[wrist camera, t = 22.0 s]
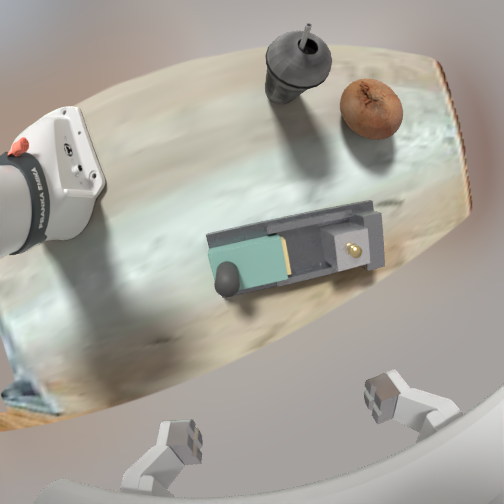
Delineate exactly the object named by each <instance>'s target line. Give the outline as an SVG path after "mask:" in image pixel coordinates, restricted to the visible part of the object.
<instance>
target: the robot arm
mask: <svg viewBox="0 0 504 504" xmlns="http://www.w3.org/2000/svg"><path fill="white" fill-rule="evenodd" d="M65 112H66V114H65ZM94 174H96V178H94ZM104 186H105V178H104V175H103V172H102V170H101V167H100V165H99V162H98V159H97V157H96V154H95V151H94V149H93V146H92V143H91V140H90V137H89V134H88V131H87V128H86V125H85V122H84V119H83V116H82V113H81V110H80V108H77V107H71V106H70V107H62V108H59V109H56V110H54V111H52V112H50V113H48V114H46V115H45V116H43V117H42V118H40V119H39V120H38V121H36V122H35V123H34V124H33V125H31V126H29V127H28V128H27V129H25V130H24V131H23V132H22V133H21V134H20V135H19V136H18V137H17V138H16V139H15V141H14V142H13V144H12V147H11V150H10V152H5V153H4V154H2V155H1V156H0V259H1V258H3V257H5V256H7V255H16V254H21V253H23V252H26V251H28V250H30V249H32V248H34V247H36V246H38V245H40V244H41V243H42V242H44V241H47V240H68V239H71V238H74V237H75V236H77V235H78V234H79V233H81V232H82V231H83V229H84V228H85V227H86V225H87V223H88V222H89V220H90V217H91V214H92V211H93V207H94V203H95V200H96V198H97V197H98V195H99V194H100V193H101V191H102V190H103V188H104ZM365 387H366V391H365V392H364V398H365V403H366V405H367V407H368V409H370V410H372V411H373V412H372V416H373V418H374V419H375V421H376V423H377V424H380V423H382V422H385V421H387V420H390V419H392V418H393V419H394V420H396V421H398V422H400V423H402V424H404V425H406V426H407V427H410V428H411V429H413V430H416V431H417V432H419V433H420V434H419V436H418V439H417V441H416V443H415V444H414V445H412V446H410V447H408V448H406V449H404V450H402V451H400V452H398V453H395V454H394V455H391V456H389V457H387V458H384V459H382V460H379V461H377V462H375V463H372V464H370V465H367V466H364V467H362V468H359V469H356V470H354V471H351V472H348V473H345V474H342V475H339V476H335V477H332V478H329V479H326V480H322V481H318V482H314V483H310V484H306V485H302V486H298V487H293V488H288V489H283V490H278V491H272V492H265V493H258V494H250V495H241V496H229V497H211V498H179V497H175V496H174V495H173V494H171V493H170V492H169V491H168V490H167V489H168V487H169V486H170V485H171V483H172V482H173V481H174V479H175V478H176V477H177V475H178V474H179V473H180V471H181V470H182V469H183V467H184V466H185V465H190V464H201V460H202V459H201V458H202V453H201V451H200V450H199V449H200V448H201V447H202V436H201V433H200V431H199V429H197V428H195V422H194V421H193V420H173V421H162V422H161V424H160V428H159V432H158V437H157V442H156V446H152V448H150V449H149V450H148V451H147V452H146V453H145V454H144V455H143V456H142V457H141V458H140V459H139V460H138V461H137V462H135V463H134V464H133V465H132V466H131V467H130V468H129V469H128V470H127V471H126V472H124V476H123V480H122V484H121V488H120V492H119V491H114V490H108V489H103V488H99V487H94V486H90V485H86V484H82V483H78V482H75V481H72V480H68V479H64V478H63V479H58V480H56V481H55V482H53V483H52V484H50V485H48V486H47V487H45V488H43V489H42V490H41V491H40V493H39V494H38V496H37V498H36V499H35V502H34V504H504V383H503V384H502V385H501V386H500V387H499V388H498V389H496V390H495V391H494V392H493V393H492V394H490V395H489V396H488V397H487V398H485V399H484V400H483V401H481V402H480V403H479V404H478V405H476V406H475V407H474V408H472V409H471V410H469V411H468V412H467V413H465V414H463V413H462V412H461V411H460V410H459V409H458V407H457V406H456V405H455V404H454V403H453V401H452V400H450V399H447V398H443V397H440V396H437V395H434V394H431V393H427V392H424V391H421V390H418V389H415V388H412V389H410V387H409V386H408V385H407V384H406V383H405V381H404V380H403V379H402V377H401V376H400V375H399V374H398V372H397V371H396V370H394V369H393V370H391V371H388V372H386V373H383V374H381V375H379V376H376V377H374V378H371V379H368V380H366V382H365Z"/></svg>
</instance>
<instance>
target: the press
mask: <svg viewBox="0 0 504 504" xmlns="http://www.w3.org/2000/svg"><path fill="white" fill-rule="evenodd" d="M347 221H351V222H353V223H356V224H358V225H361V226H363V227H366V228H368V238H369V251H370V263H369V264H365V265H361V266H362V267H363V268H364V269H366V270H367V271H370V270H373V269H377V268H380V267H384V266H385V259H384V241H383V227H382V216H381V213H380V212H376V211H374V210H373V202H372V201H371V200H368V201H362V202H357V203H351V204H346V205H341V206H336V207H330V208H325V209H320V210H315V211H310V212H305V213H300V214H295V215H291V216H286V217H281V218H276V219H271V220H267V221H262V222H257V223H253V224H248V225H244V226H239V227H235V228H230V229H226V230H221V231H217V232H212V233H208V234H206V237H207V241H208V245H209V249H210V248H214V247H219V246H223V245H228V244H232V243H237V242H241V241H246V240H250V239H255V238H259V237H264V236H269V235H273V234H278V235H279V236H280V237H283V238H284V239H285V240H286V246H287V252H288V257H289V263H290V269H291V274H290V275H288V279H286V280H282V281H278V282H273V283H269V284H264V285H260V286H256V287H251V288H247V289H242V290H238V292H237V293H236V294H235V295H238V294H243V293H247V292H252V291H257V290H261V289H265V288H270V287H274V286H278V287H279V286H283V285H287V284H291V283H296V282H300V281H304V280H308V279H312V278H316V277H320V276H324V275H328V274H332V273H336V272H338V271H337V270H336V269H335V268H334V267H333V266H332V265H330V264H329V263H328V262H327V261H326V260H325V259H324V254H323V247H322V240H321V233H320V227H324V226H329V225H333V224H338V223H343V222H347ZM354 268H355V267H354ZM350 269H351V268H350ZM346 270H347V269H346ZM343 271H344V270H343ZM339 272H340V271H339ZM233 296H234V295H233ZM222 298H224V296H222Z"/></svg>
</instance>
